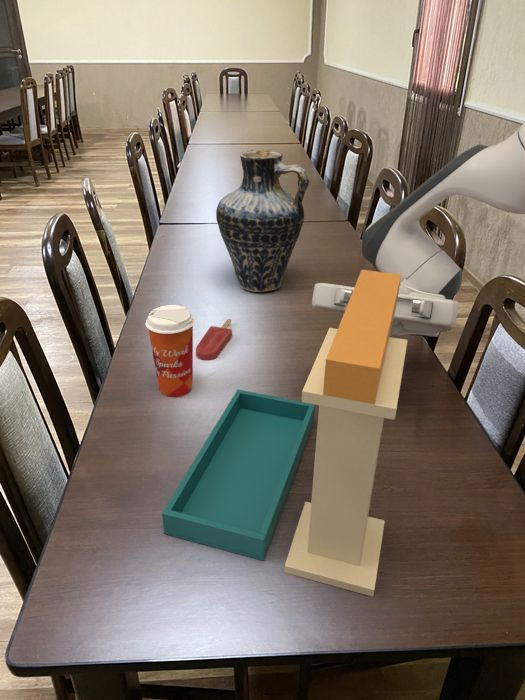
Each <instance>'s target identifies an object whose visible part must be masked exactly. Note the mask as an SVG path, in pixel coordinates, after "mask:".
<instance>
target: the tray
mask: <svg viewBox="0 0 525 700" xmlns="http://www.w3.org/2000/svg"><path fill="white" fill-rule="evenodd" d="M315 414H316V405H314V404H309V403H304V402H302V400H301V401H300V400H295V399H291V398H284V397H279V396H274V395H269V394H265V393H264V394H263V393H259V392H254V391H249V390H243V389H237V390H235V393H234V394H233V396H232V398H231V399H230V401H229V403H228V404H227V406H226V408H225V409H224V411H223V412H222V414H221V416H220V417H219V419H218V421H217V422H216V424H215V426H214V428H213V429H212V431H211V432H210V434H209V435H208V437H207V439H206V440H205V442H204V443H203V445H202V447H201V448H200V450H199V452H198V453H197V455H196V457H195V459H194V460H193V461H192V463H191V464H190V466H189V468H188V470H187V472H186V473H185V475H184V476H183V478H182V480H181V481H180V483H179V484H178V486H177V488H176V489H175V490H174V493H173V494H172V496H171V498H170V499H169V501H168V502H167V504H166V506H165V507H164V509H163V511H162V513H161V517H162V525H163V534H164V535H167V536H171V537H175V538H179V539H182V540H186V541H189V542H193V543H196V544H199V545H203V546H207V547H211V548H215V549H218V550H222V551H226V552H229V553H233V554H237V555H241V556H244V557H247V558H251V559H255V560H259V561H262V562H263V561H265V558H266V555H267V552H268V550H269V548H270V544H271V541H272V539H273V536H274V533H275V531H276V529H277V526H278V523H279V520H280V517H281V514H282V511H283V509H284V506H285V503H286V500H287V497H288V495H289V493H290V490H291V487H292V484H293V481H294V479H295V475H296V473H297V470H298V468H299V465H300V462H301V459H302V456H303V454H304V451H305V448H306V445H307V443H308V441H309V437H310V435H311V432H312V429H313V427H314V424H315V416H316V415H315Z"/></svg>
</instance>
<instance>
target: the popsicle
mask: <svg viewBox="0 0 525 700" xmlns="http://www.w3.org/2000/svg"><path fill="white" fill-rule="evenodd" d="M231 322H232V319H231V318H227V319H226V321H225V322H224V323H223V325H222V326H221V327H220V326H214V325H211V326H209V328H208V330H207V331H206V332H205V334H204V335H203V337H202V338H201V340H200V341H199V342H198V344H197V345H196V347H195V355H196V357H197V359H200V360H204V361H210V360H214V359H216V358H217V357H218V356H219V355H220V353H221V352H222V351H223V349H224V348H225V347H226V346H227V344H228V343H229V341H230V340H231V339H232V337H233V329H232V328H228V327H229V326H230V324H231Z"/></svg>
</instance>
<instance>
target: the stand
mask: <svg viewBox="0 0 525 700" xmlns="http://www.w3.org/2000/svg"><path fill="white" fill-rule="evenodd" d="M337 330H338V328H333V327H329V328H328V330H327V333H326V335H325V337H324V339H323V341H322V344H321V345H320V349H319V351H318V353H317V356H316V358H315V361H314V363H313V365H312V368H311V370H310V372H309V374H308V376H307V380H306V381H305V384H304V386H303V387H302V391H301V402H304V403H309V404H314V405H315V406H318V417H317V428H316V439H315V440H316V441H315V451H314V452H315V453H314V463H313V465H314V466H313V475H312V476H313V479H312V488H311V489H312V491H311V502H310V501H305V502H304V504H303V508H302V510H301V513H300V517H299V520H298V523H297V525H296V528H295V531H294V535H293V539H292V540H291V545H290V548H289V551H288V554H287V557H286V559H285V560H286V561H285V563H284V568H283V569H284V571H283V573H285V574H288V575H292V576H296V577H299V578H302V579H307V580H310V581H314V582H317V583H321V584H325V585H329V586H331V587H332V586H333V587H336V588H339V589H342V590H346V591H350V592H354V593H357V594H361V595H364V596H369V597H372V598H373V597H374V596H375V589H376V585H377V577H378V569H379V563H380V556H381V551H382V550H381V548H382V542H383V536H384V529H385V522H386V520H385V519H382V518H381V519H379V518H376V517H372V516H369V514H370V508H371V503H372V497H373V496H372V495H373V489H374V483H375V476H376V471H377V465H378V457H379V451H380V446H381V439H382V434H383V427H384V421H385V419H387V420H396V415H397V408H398V404H399V403H398V402H399V398H400V397H399V396H400V390H401V385H402V379H403V371H404V366H405V360H406V352H407V347H408V339H406V338H405V339H404V338H399V337H389V342H388V346H387V351H386V356H385V360H384V365H383V369H382V374H381V378H380V383H379V387H378V392H377V396H376V401H375V404H370V403H365V402H359V401H354V400H349V399H343V398H338V397H333V396H327V395H323V387H324V375H325V364H326V358H327V355H328V353H329V350H330V348H331V345H332V343H333V340H334V338H335V335H336V333H337Z"/></svg>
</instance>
